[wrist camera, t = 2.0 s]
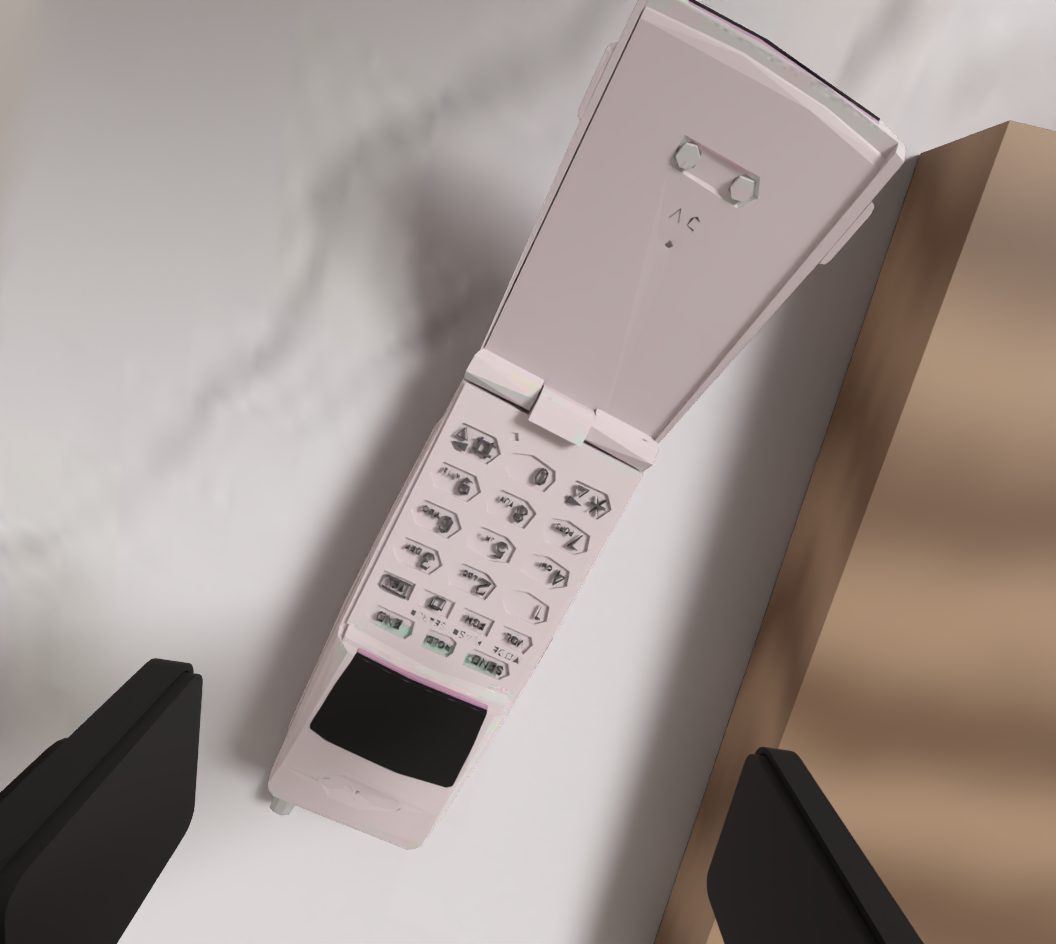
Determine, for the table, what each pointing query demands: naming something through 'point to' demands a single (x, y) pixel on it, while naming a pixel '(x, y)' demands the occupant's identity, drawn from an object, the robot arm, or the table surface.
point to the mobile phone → (576, 397)
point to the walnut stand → (928, 571)
